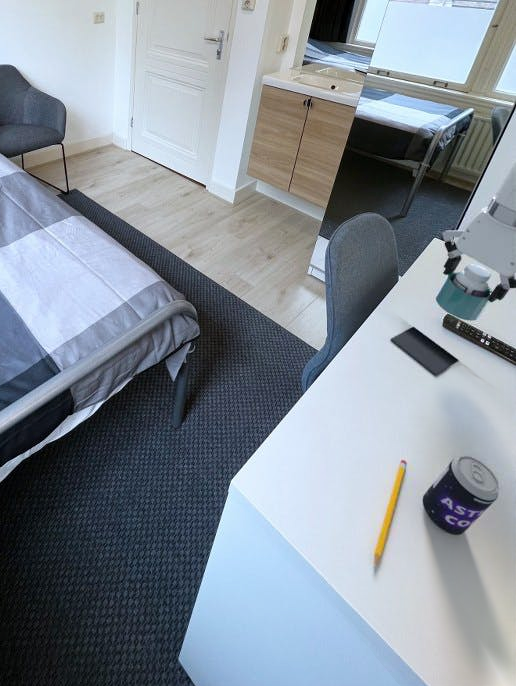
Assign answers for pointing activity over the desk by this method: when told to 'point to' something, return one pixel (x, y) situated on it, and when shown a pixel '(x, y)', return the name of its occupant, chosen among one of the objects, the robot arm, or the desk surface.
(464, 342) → the desk surface
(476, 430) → the desk surface
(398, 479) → the pencil
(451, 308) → the cup
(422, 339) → the dark grey rectangular plate
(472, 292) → the pill bottle
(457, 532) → the beverage can
